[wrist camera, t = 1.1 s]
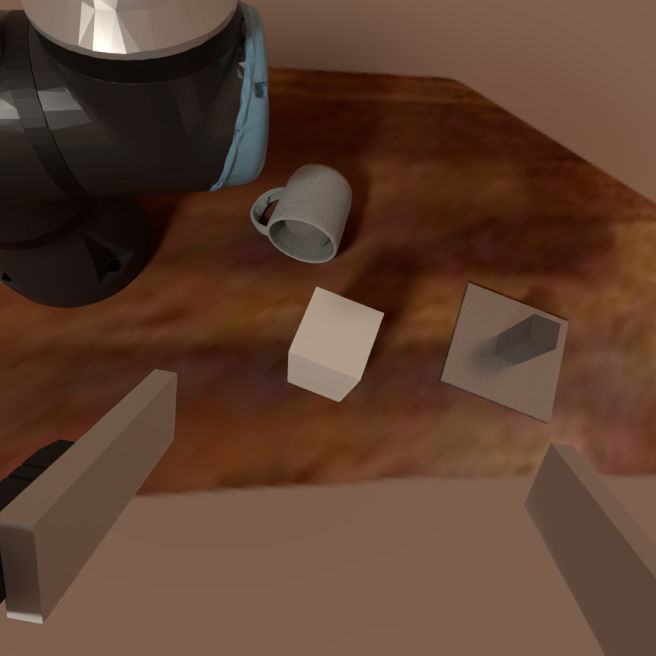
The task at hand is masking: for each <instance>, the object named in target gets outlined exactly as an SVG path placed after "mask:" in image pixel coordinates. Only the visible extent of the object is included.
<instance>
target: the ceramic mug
mask: <svg viewBox="0 0 656 656" xmlns="http://www.w3.org/2000/svg"><path fill="white" fill-rule="evenodd" d="M279 199H280V200H279ZM276 200H279V202H278V204H277V206H276V208H275V210H274V212H273V214H272V216H271V218H270V220H269V222H268V225H267V226H264V225H262V224H260V223H259V219H260V217H261V215H262V214H263V212H264V210H265V208H267V207H268V205H269V204H270V203H271V202H273V201H276ZM351 203H352V190H351V187H350V184H349V182H348V181H347V179H346V178H345V177H344V176H343V175H342V174H341V173H340V172H339V171H337V170H335V169H334V168H332V167H329V166H326V165H322V164H307V165H303V166H302V167H300V168H298V169H297V170H296V171H295V172H294V174H293V175H292V176H291V178H290V179H289V181H288V183H287V185H286V187H281V188H275V189H271V190H269V191H267V192H266V193H264V194H263V195H262V196H260V197H259V198H258V200H257V201H256V202H255V203H254V205H253V207H252V209H251V213H250V216H251V220H252V222H253V224H254V225H255V227H256V228H257V230H258V231H259V232H261V233H262V234H264V235H267V236H268V237H269V239H270V241H271V242H272V243H273V244H274V245H275V246H276V247H277V248H278V249H279V250H281V251H282V252H283V253H285V254H286V255H288V256H290V257H293V258H295V259H297V260H301V261H304V262H309V263H324V262H327V261H329V260H331V259H332V258H333V257H334V256H335V255H336V253H337V251H338V248H339V244H340V241H341V238H342V234H343V231H344V228H345V224H346V221H347V218H348V215H349V211H350V208H351Z"/></svg>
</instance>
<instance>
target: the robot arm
mask: <svg viewBox="0 0 656 656" xmlns="http://www.w3.org/2000/svg"><path fill="white" fill-rule="evenodd" d="M21 3H22V6H23V8H24V10H0V280H1V281H3V282H4V283H5V284H6V285H7V286H8V287H10V288H11V289H13V290H14V291H16V292H18V293H19V294H21V295H22V296H24V297H26V298H27V299H29V300H31V301H34V302H36V303H39V304H42V305H46V306H51V307H62V308H69V307H79V306H85V305H89V304H93V303H96V302H99V301H101V300H103V299H106V298H108V297H110V296H111V295H113V294H115V293H116V292H118V291H120V290H121V289H122V288H124V287H125V286H126V285H127V284H128V283H129V282H130V281H131V280H132V279H133V278H134V277H135V276H136V275H137V273H138V272H139V271H140V269H141V268H142V266H143V264H144V262H145V260H146V258H147V255H148V252H149V249H150V243H151V230H150V225H149V221H148V219H147V216H146V214H145V212H144V211H143V209H142V207H141V205H140V204H139V202H138V200H137V199H136V197H135V196H143V195H157V194H171V193H185V192H199V191H208V192H210V191H216V190H218V189H220V188H225V187H232V186H238V185H245V184H248V183H250V182H252V181H254V180H255V179H256V178H257V177H258V176H259V174H260V173H261V171H262V169H263V166H264V163H265V158H266V153H267V144H268V131H269V98H268V94H267V90H268V55H267V46H266V37H265V31H264V26H263V22H262V18H261V16H260V14H259V12H258V10H257V9H256V8H255V7H252V6H248V5H247V4H246V3H242V1H239V0H21ZM176 387H177V373H174V372H168V371H163V370H158V369H155V370H154V371H153V372H152V373H151V374H150V375H148V376H147V377H146V378H145V379H144V380H143V381H142V382H141V383H140V384H139V385H138V386H136V387H135V388H134V389H133V390H132V391H131V392H130V393H129V394H128V395H127V396H126V397H125V398H123V399H122V400H121V401H120V402H119V403H118V404H117V405H116V406H115V407H114V408H113V409H112V410H110V411H109V412H108V413H107V414H106V415H105V416H104V417H103V418H102V419H101V420H100V421H98V422H97V423H96V424H95V425H94V426H93V427H92V428H91V429H90V430H89V431H88V432H87V433H85V434H84V435H83V436H82V437H81V438H80V439H79V440H78V441H77V442H71V441H66V440H58V441H56V442H54V443H52V444H49V445H47V446H45V447H43V448H41V449H39V450H38V451H37V452H35V453H34V454H33V455H32V456H31V457H29V458H28V459H27V460H26V461H25V462H23V463H22V466H19V467H17V468H16V469H15V470H14V471H13V472H11V473H10V474H9V476H8V478H4V479H3V480H2V481H1V482H0V604H1V602H2V601H3V600H4V599H5V602H6V610H7V617H8V618H14V619H19V620H24V621H30V622H35V623H41V624H43V623H44V622H45V620H46V619H47V617H48V616H49V615H50V613H51V612H52V610H53V609H54V607H55V606H56V605H57V603H58V602H59V600H60V599H61V597H62V596H63V595H64V593H65V592H66V591H67V589H68V588H69V586H70V585H71V583H72V582H73V581H74V579H75V578H76V576H77V575H78V574H79V572H80V571H81V569H82V568H83V567H84V565H85V564H86V562H87V561H88V560H89V558H90V557H91V555H92V554H93V553H94V551H95V550H96V548H97V547H98V545H99V544H100V543H101V541H102V540H103V539H104V537H105V536H106V534H107V533H108V531H109V530H110V528H111V527H112V526H113V524H114V523H115V522H116V520H117V519H118V517H119V516H120V515H121V513H122V512H123V510H124V509H125V508H126V506H127V505H128V503H129V502H130V500H131V499H132V498H133V496H134V495H135V493H136V492H137V491H138V489H139V488H140V486H141V485H142V484H143V482H144V481H145V479H146V478H147V477H148V475H149V474H150V472H151V471H152V470H153V468H154V467H155V465H156V464H157V463H158V461H159V460H160V458H161V457H162V455H163V454H164V453H165V451H166V450H167V448H168V447H169V446H170V444H171V443H172V441H173V440H174V424H175V406H176ZM524 505H525V507H526V509H527V511H528V513H529V515H530V516H531V518H532V520H533V522H534V524H535V526H536V528H537V529H538V531H539V533H540V535H541V537H542V539H543V541H544V542H545V544H546V546H547V548H548V550H549V552H550V554H551V555H552V558H553V559H554V561H555V563H556V565H557V567H558V569H559V570H560V572H561V574H562V576H563V578H564V580H565V582H566V583H567V586H568V587H569V589H570V591H571V593H572V595H573V597H574V599H575V600H576V602H577V604H578V606H579V608H580V610H581V611H582V613H583V615H584V617H585V619H586V621H587V623H588V625H589V627H590V628H591V630H592V632H593V634H594V636H595V638H596V639H597V641H598V643H599V645H600V647H601V649H602V651H603V653H604V655H605V656H656V545H655V544H654V542H653V541H652V540H651V539H650V538H649V537H648V535H647V534H646V533H645V532H644V531H643V529H642V528H641V527H640V526H639V525H638V523H637V522H636V521H635V520H634V519H633V517H632V516H631V515H630V514H629V513H628V512H627V510H626V509H625V508H624V507H623V506H622V504H621V503H620V502H619V501H618V500H617V498H616V497H615V496H614V495H613V494H612V493H611V492H610V490H609V489H608V488H607V487H606V485H605V484H604V483H603V482H602V481H601V479H600V478H599V477H598V476H597V475H596V474H595V472H594V471H593V470H592V469H591V468H590V466H589V465H588V464H587V463H586V462H585V460H584V459H583V458H582V457H581V456H580V455H579V453H578V452H577V451H576V450H575V449H574V447H573V446H567V445H562V444H556V443H551V444H550V446H549V448H548V451H547V453H546V455H545V457H544V460H543V462H542V464H541V467H540V469H539V471H538V474H537V476H536V478H535V481H534V483H533V486H532V488H531V490H530V493H529V495H528V497H527V499H526V502H525V504H524Z"/></svg>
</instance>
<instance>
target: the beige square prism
mask: <svg viewBox="0 0 656 656" xmlns="http://www.w3.org/2000/svg"><path fill="white" fill-rule="evenodd" d="M383 315H384V313H382V312H380V311H377V310H374V309H372V308H369V307H367V306H364V305H362V304H359V303H357V302H354V301H352V300H349V299H347V298H344V297H341V296H339V295H336V294H334V293H331V292H329V291H326V290H324V289H321V288H319V287H316V289H315V292H314V294H313V296H312V299H311V301H310V303H309V306H308V308H307V310H306V313H305V315H304V317H303V320H302V322H301V324H300V327H299V329H298V331H297V334H296V336H295V338H294V341H293V343H292V345H291V347H290V350H289V358H288V382H290V383H292V384H295V385H297V386H300V387H302V388H305V389H307V390H310V391H312V392H315V393H317V394H320V395H322V396H325V397H327V398H330V399H332V400H335V401H337V402H340V401H341V400H342V399H343V398H344V397H345V396H346V395H347V394H348V393H349V391H350V390H351V389H352V388H353V387H354V386H355V385H356V384H357V383H358V382H359V381H360V380H361V377H362V374H363V371H364V368H365V366H366V363H367V360H368V357H369V354H370V352H371V349H372V346H373V343H374V340H375V338H376V335H377V332H378V329H379V326H380V324H381V321H382V318H383Z"/></svg>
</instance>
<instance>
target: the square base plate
mask: <svg viewBox="0 0 656 656" xmlns="http://www.w3.org/2000/svg"><path fill="white" fill-rule="evenodd" d="M568 323H569V322H568V321H566V320H563V319H561V318H558V317H556V316H553V315H550V314H548V313H545V312H543V311H540V310H538V309H535V308H532V307H530V306H527V305H525V304H522V303H520V302H517V301H514V300H512V299H509V298H507V297H504V296H502V295H499V294H497V293H494V292H491V291H489V290H486V289H484V288H481V287H479V286H476V285H473V284H471V283H468V284H467V285H466V288H465V292H464V295H463V299H462V302H461V306H460V309H459V313H458V316H457V320H456V323H455V327H454V330H453V333H452V337H451V340H450V344H449V347H448V351H447V354H446V358H445V361H444V365H443V368H442V372H441V375H440V379H439V382H442V383H445V384H447V385H450V386H452V387H455V388H457V389H460V390H462V391H465V392H467V393H470V394H472V395H475V396H477V397H480V398H482V399H485V400H487V401H490V402H492V403H495V404H498V405H500V406H503V407H505V408H508V409H510V410H513V411H515V412H518V413H520V414H523V415H525V416H528V417H530V418H533V419H535V420H538V421H540V422H543V423H546V424H548V423H550V420H551V414H552V409H553V404H554V398H555V393H556V387H557V382H558V377H559V371H560V366H561V360H562V355H563V350H564V344H565V339H566V333H567V328H568Z"/></svg>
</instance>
